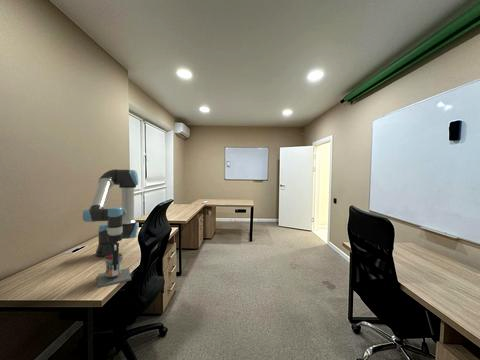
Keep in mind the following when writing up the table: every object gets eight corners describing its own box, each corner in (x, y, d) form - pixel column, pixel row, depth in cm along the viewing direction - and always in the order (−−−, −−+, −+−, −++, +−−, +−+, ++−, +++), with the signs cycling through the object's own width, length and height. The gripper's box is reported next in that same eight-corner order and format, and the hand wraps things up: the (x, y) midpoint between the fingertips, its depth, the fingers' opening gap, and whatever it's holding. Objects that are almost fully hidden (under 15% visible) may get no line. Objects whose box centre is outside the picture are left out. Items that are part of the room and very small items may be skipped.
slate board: (98, 275, 126) (98, 273, 126) (128, 269, 134) (128, 268, 134) (97, 287, 112) (97, 285, 112) (131, 280, 121) (131, 278, 121)
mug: (113, 279, 117) (114, 260, 117) (99, 277, 119) (99, 258, 119) (129, 269, 129) (129, 252, 129) (115, 268, 131) (116, 251, 130)
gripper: (107, 230, 130) (106, 267, 130) (107, 239, 112) (107, 281, 112) (121, 229, 134) (120, 264, 134) (123, 237, 116) (123, 278, 117)
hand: (114, 272), depth 123 cm, fingers closed on mug, 8 cm apart
